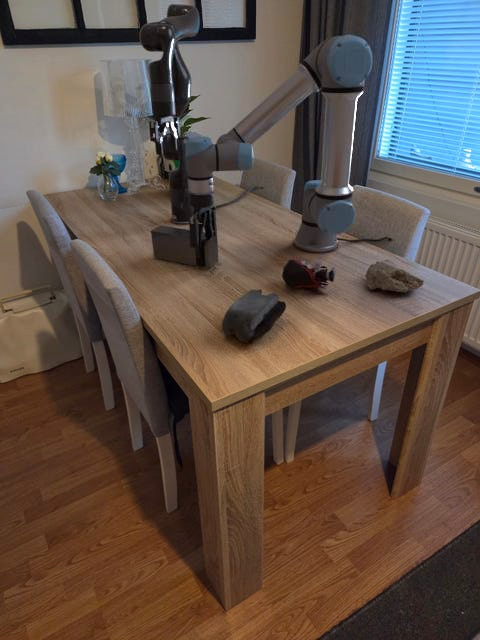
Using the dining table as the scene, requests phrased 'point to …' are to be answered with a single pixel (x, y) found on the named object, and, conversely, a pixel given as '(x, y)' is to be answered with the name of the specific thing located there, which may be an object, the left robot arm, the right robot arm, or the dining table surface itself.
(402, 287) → the artifact
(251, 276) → the dining table surface
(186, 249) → the box
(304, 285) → the toy
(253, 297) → the dark grey pouch
